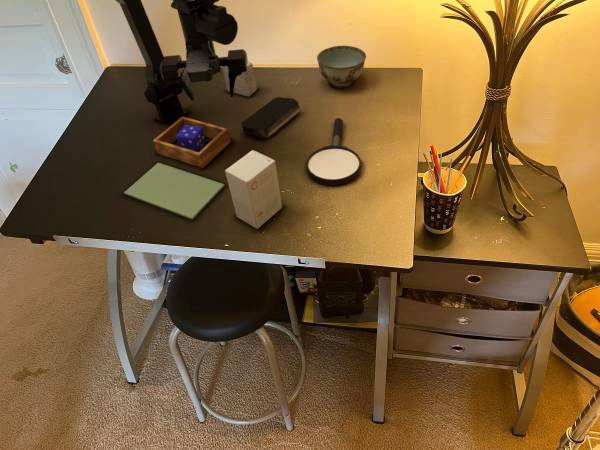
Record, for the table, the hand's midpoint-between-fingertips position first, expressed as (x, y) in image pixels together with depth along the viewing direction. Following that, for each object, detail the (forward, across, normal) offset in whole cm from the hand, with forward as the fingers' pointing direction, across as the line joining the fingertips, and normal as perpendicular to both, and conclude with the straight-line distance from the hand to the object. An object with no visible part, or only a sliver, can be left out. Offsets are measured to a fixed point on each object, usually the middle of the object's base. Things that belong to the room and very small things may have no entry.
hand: (212, 98), depth 108 cm
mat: (+13, -10, -16) cm, 23 cm away
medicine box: (+13, +4, +26) cm, 29 cm away
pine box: (+13, -7, 0) cm, 15 cm away
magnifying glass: (+13, +28, -8) cm, 32 cm away
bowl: (+13, +33, +25) cm, 44 cm away
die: (+13, -7, 0) cm, 15 cm away
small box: (+13, +10, -26) cm, 31 cm away
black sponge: (+13, +12, +7) cm, 20 cm away
